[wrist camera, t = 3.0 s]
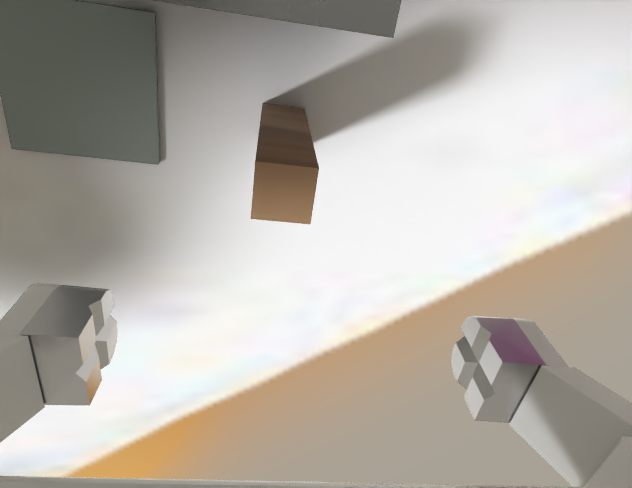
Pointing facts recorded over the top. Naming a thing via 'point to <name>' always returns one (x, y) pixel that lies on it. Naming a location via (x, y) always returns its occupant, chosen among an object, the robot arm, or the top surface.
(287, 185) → the brown wooden bar
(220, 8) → the box
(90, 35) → the pad
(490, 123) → the top surface
